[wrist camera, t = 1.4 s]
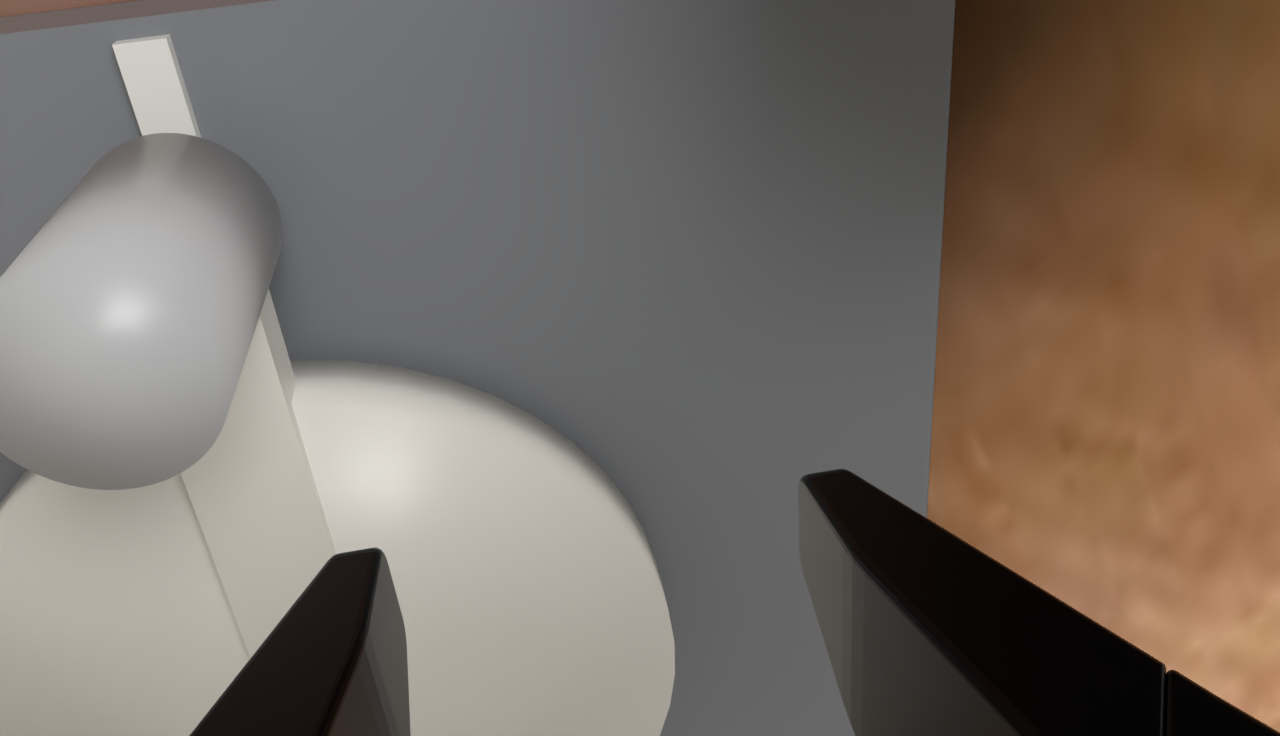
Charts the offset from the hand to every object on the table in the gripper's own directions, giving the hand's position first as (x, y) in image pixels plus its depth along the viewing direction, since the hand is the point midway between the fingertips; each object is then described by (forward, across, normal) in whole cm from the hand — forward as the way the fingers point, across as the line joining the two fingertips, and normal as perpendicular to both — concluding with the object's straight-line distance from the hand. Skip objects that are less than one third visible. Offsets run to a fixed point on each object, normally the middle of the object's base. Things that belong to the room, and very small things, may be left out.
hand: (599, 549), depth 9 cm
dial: (+10, +6, +8) cm, 14 cm away
